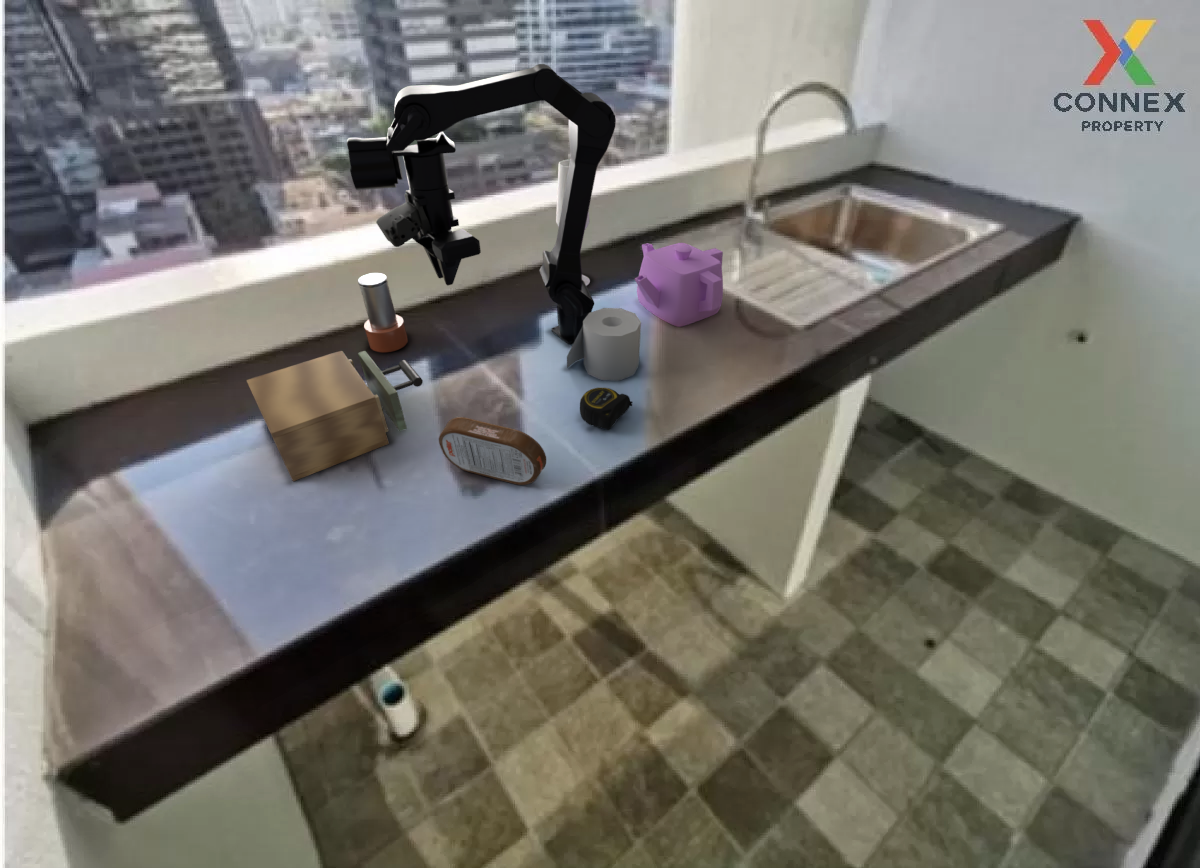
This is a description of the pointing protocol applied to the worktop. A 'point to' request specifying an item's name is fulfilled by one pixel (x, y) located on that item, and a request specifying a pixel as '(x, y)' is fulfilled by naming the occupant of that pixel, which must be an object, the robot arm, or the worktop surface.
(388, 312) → the cylinder
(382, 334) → the stand
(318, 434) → the cabinet
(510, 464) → the tin
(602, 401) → the tape measure
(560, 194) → the champagne flute
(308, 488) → the worktop surface
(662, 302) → the teakettle
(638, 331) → the toilet tissue
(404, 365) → the drawer
